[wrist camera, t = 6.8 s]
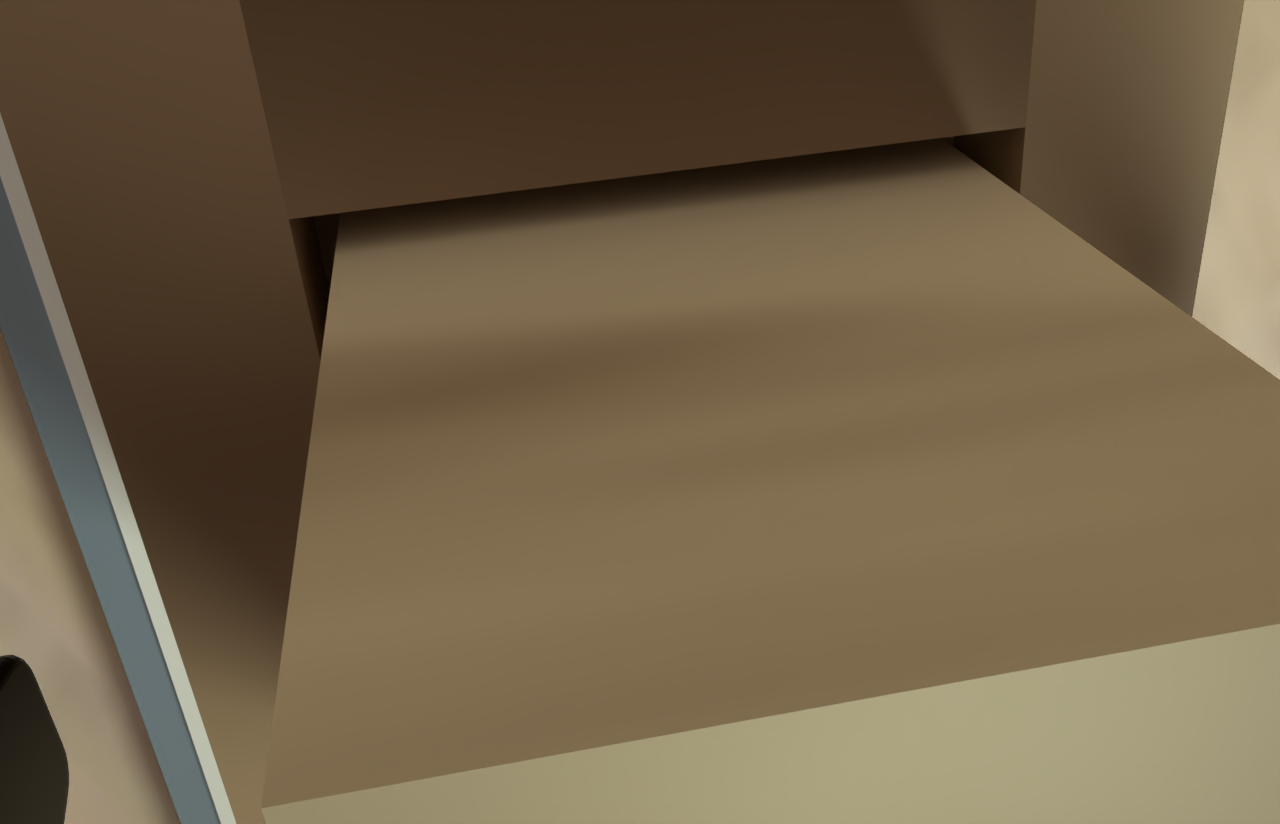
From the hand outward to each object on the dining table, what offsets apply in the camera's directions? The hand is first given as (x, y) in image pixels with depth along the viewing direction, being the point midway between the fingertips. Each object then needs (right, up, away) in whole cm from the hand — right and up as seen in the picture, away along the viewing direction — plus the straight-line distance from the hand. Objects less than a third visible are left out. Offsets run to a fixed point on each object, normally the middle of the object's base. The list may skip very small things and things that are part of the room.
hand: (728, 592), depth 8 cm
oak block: (0, +1, +2) cm, 2 cm away
